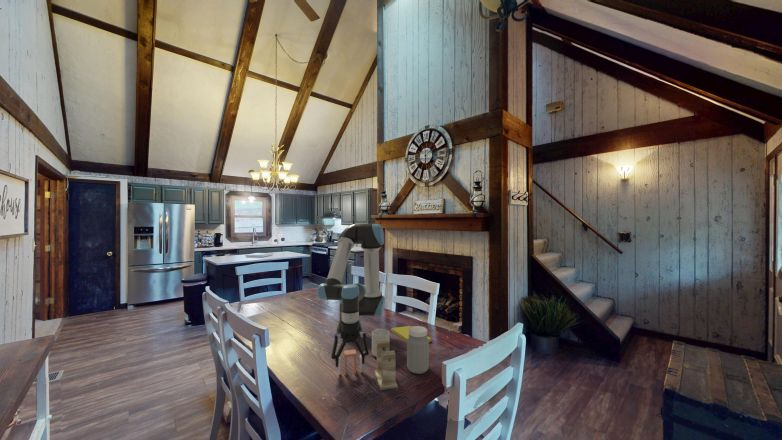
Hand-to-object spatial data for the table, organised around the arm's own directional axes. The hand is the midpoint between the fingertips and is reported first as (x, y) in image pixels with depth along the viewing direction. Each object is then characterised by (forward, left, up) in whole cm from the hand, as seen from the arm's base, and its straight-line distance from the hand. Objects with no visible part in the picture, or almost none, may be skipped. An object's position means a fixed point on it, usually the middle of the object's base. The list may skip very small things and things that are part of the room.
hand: (350, 372), depth 128 cm
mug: (-15, +17, 0) cm, 23 cm away
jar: (+4, +30, 0) cm, 30 cm away
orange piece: (0, 0, 0) cm, 0 cm away
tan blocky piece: (+9, +14, 0) cm, 17 cm away
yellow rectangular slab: (-32, +38, -1) cm, 50 cm away
